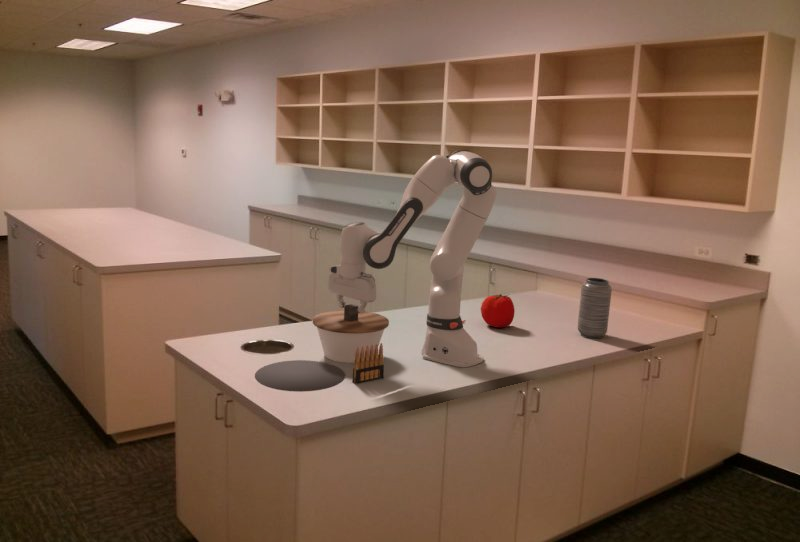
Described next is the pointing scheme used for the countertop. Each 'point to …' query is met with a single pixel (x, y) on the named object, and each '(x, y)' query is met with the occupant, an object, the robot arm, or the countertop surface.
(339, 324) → the lid
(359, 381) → the ammunition clip
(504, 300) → the tomato
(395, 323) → the countertop surface
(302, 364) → the mat
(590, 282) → the vase
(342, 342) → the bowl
